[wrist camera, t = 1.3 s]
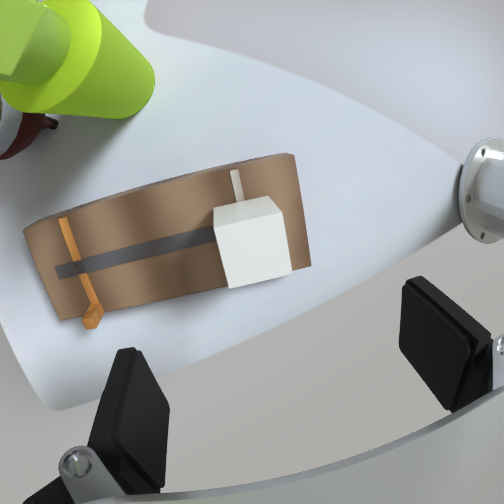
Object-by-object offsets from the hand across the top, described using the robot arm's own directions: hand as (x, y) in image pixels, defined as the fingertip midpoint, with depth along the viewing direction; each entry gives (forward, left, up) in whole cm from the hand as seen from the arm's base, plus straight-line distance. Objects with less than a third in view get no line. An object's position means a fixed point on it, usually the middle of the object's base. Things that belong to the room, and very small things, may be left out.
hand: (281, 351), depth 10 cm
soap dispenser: (+7, -13, -18) cm, 23 cm away
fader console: (+7, 0, -18) cm, 19 cm away
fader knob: (0, 0, -14) cm, 14 cm away
